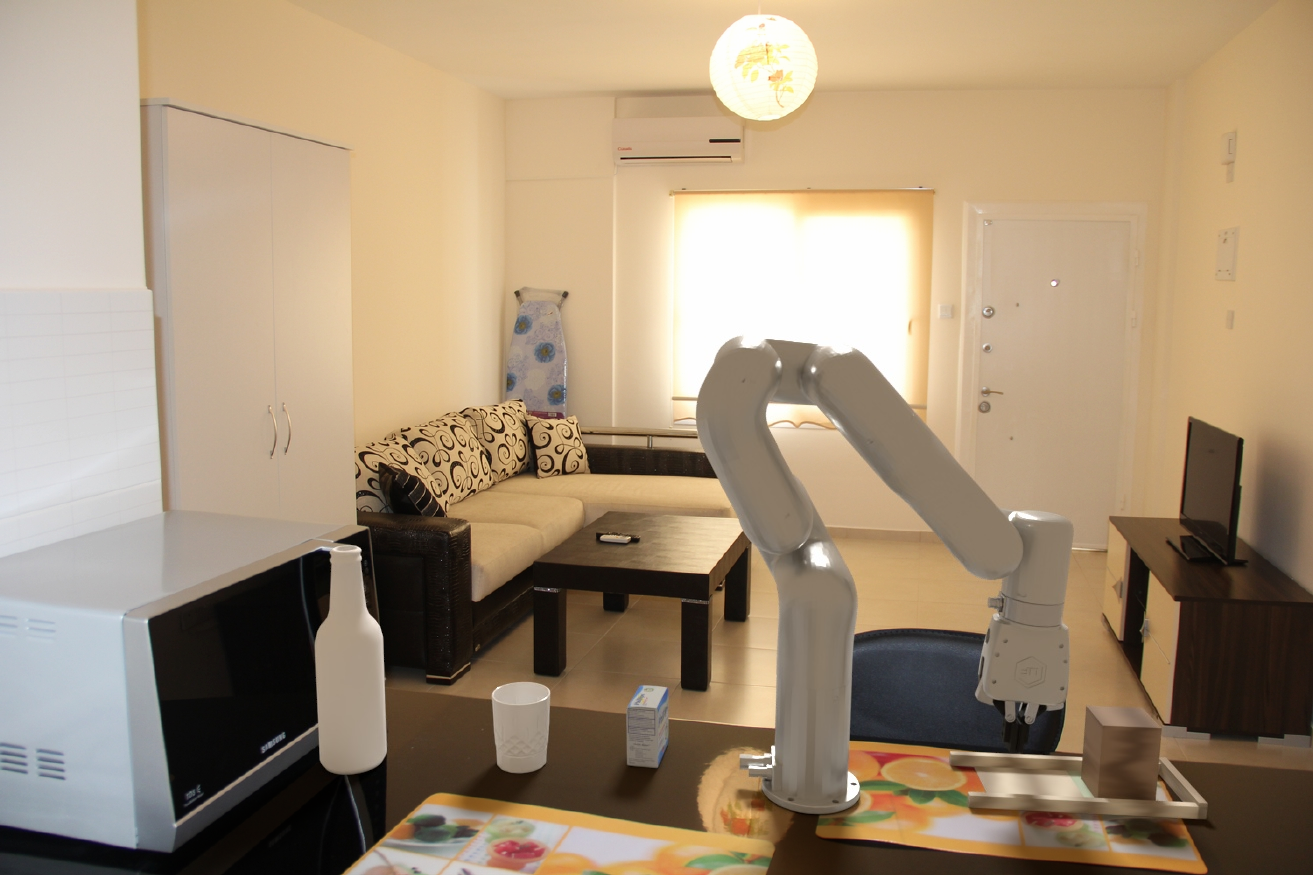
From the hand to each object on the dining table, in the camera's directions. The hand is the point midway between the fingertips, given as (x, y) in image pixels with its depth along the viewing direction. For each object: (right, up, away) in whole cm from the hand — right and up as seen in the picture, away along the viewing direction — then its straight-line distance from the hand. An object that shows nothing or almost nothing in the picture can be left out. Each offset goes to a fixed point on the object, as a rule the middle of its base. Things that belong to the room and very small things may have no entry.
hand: (1012, 747), depth 126 cm
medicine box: (-47, -5, +12) cm, 49 cm away
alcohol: (-87, -5, +9) cm, 88 cm away
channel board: (+7, -7, 0) cm, 10 cm away
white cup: (-64, -5, +10) cm, 65 cm away
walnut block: (+13, -5, 0) cm, 14 cm away
